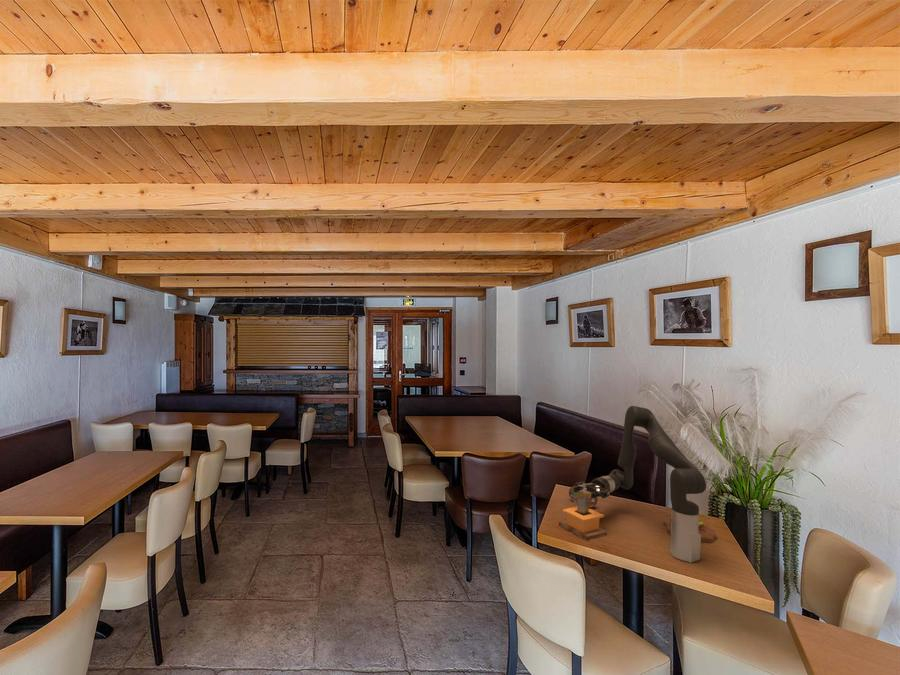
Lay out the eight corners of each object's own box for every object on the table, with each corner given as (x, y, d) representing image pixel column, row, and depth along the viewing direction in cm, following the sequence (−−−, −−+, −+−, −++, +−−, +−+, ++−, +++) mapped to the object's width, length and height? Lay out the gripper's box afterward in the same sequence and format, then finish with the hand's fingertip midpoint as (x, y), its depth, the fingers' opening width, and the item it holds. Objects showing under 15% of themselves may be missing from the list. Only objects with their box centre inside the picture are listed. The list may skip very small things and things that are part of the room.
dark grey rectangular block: (588, 526, 185) (589, 498, 186) (584, 528, 183) (585, 500, 183) (580, 523, 188) (581, 496, 188) (576, 525, 185) (577, 498, 186)
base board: (607, 534, 181) (607, 530, 182) (587, 540, 175) (587, 536, 176) (578, 520, 195) (578, 516, 195) (558, 525, 189) (559, 521, 189)
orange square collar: (603, 529, 183) (603, 514, 183) (583, 534, 177) (583, 519, 177) (581, 518, 194) (582, 505, 194) (562, 523, 188) (562, 509, 188)
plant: (722, 547, 174) (723, 519, 174) (669, 539, 180) (670, 512, 180) (708, 527, 193) (709, 502, 193) (661, 520, 199) (661, 496, 199)
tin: (568, 500, 220) (568, 484, 220) (571, 499, 222) (572, 482, 222) (594, 510, 208) (595, 492, 208) (598, 508, 210) (598, 491, 210)
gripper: (589, 473, 201) (568, 479, 191) (617, 481, 190) (598, 488, 180) (588, 489, 201) (568, 496, 191) (617, 498, 190) (597, 506, 180)
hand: (582, 492), depth 185 cm, fingers open, 8 cm apart
